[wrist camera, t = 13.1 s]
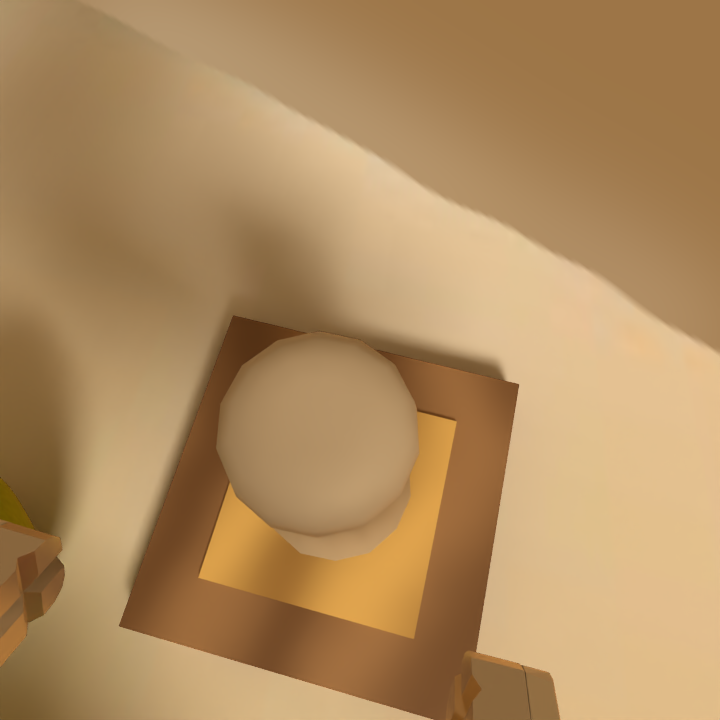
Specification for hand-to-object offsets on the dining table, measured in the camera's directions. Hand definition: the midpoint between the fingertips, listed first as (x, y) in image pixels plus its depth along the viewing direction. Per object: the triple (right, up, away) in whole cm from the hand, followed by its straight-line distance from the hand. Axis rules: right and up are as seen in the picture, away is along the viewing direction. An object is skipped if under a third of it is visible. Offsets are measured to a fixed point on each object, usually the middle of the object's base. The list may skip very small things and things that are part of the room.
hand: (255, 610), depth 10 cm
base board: (+1, -1, +14) cm, 14 cm away
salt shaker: (+1, -1, +12) cm, 12 cm away
